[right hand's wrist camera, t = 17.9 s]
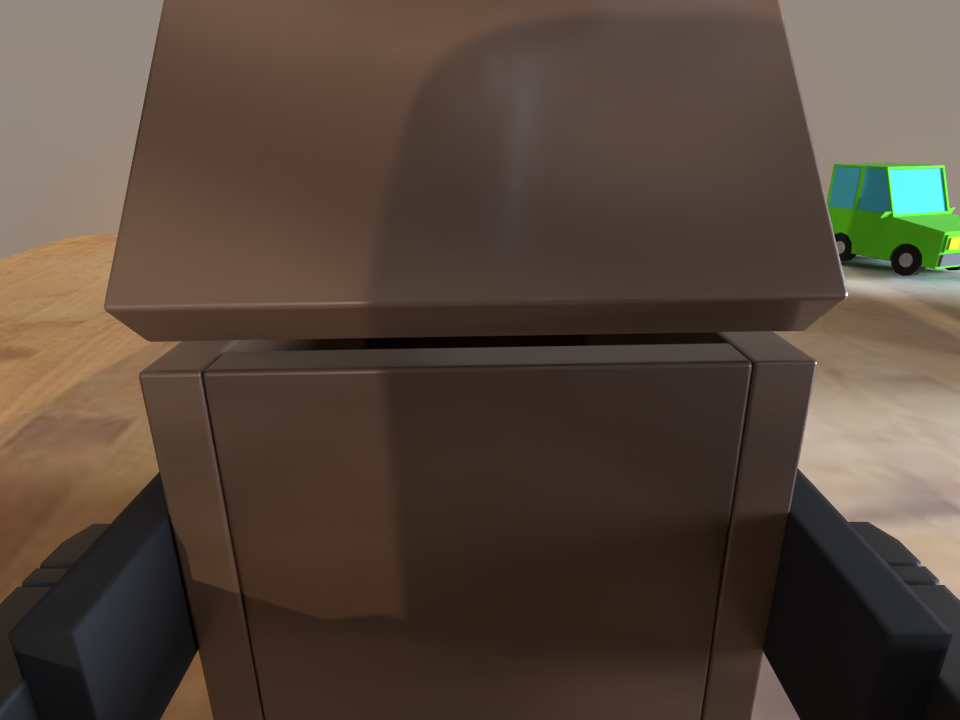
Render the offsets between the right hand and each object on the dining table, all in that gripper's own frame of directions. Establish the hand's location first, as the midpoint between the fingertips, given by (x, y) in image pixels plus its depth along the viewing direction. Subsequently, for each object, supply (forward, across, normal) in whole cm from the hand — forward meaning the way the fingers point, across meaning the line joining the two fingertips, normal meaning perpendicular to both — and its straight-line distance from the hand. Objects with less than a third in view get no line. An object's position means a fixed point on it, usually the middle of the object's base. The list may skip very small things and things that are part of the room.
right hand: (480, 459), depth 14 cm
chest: (+3, 0, -7) cm, 7 cm away
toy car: (+53, +44, -7) cm, 69 cm away
